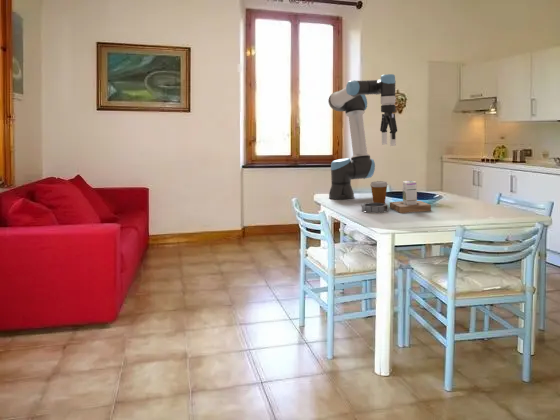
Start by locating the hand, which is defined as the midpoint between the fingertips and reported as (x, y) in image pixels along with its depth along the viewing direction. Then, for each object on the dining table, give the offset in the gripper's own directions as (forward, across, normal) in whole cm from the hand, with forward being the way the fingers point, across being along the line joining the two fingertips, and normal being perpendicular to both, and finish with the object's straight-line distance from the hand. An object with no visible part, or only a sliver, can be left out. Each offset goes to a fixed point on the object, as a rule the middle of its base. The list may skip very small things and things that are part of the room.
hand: (388, 145), depth 274 cm
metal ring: (+33, -12, +12) cm, 37 cm away
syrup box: (+33, -16, -6) cm, 37 cm away
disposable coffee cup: (+33, +6, +4) cm, 34 cm away
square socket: (+32, -16, -6) cm, 36 cm away
